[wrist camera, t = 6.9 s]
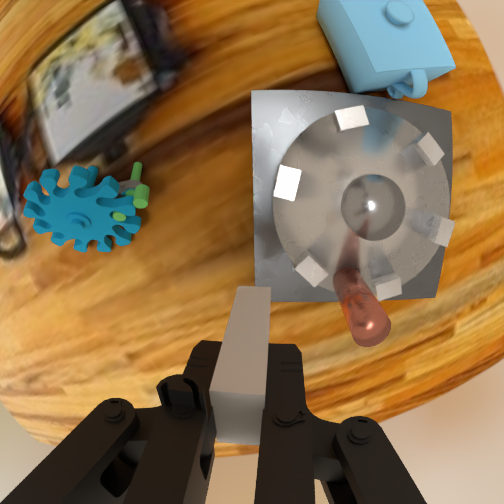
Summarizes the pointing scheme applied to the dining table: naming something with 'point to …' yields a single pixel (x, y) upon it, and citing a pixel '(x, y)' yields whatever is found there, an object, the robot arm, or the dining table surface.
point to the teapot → (385, 45)
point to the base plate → (271, 154)
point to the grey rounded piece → (362, 210)
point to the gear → (87, 207)
